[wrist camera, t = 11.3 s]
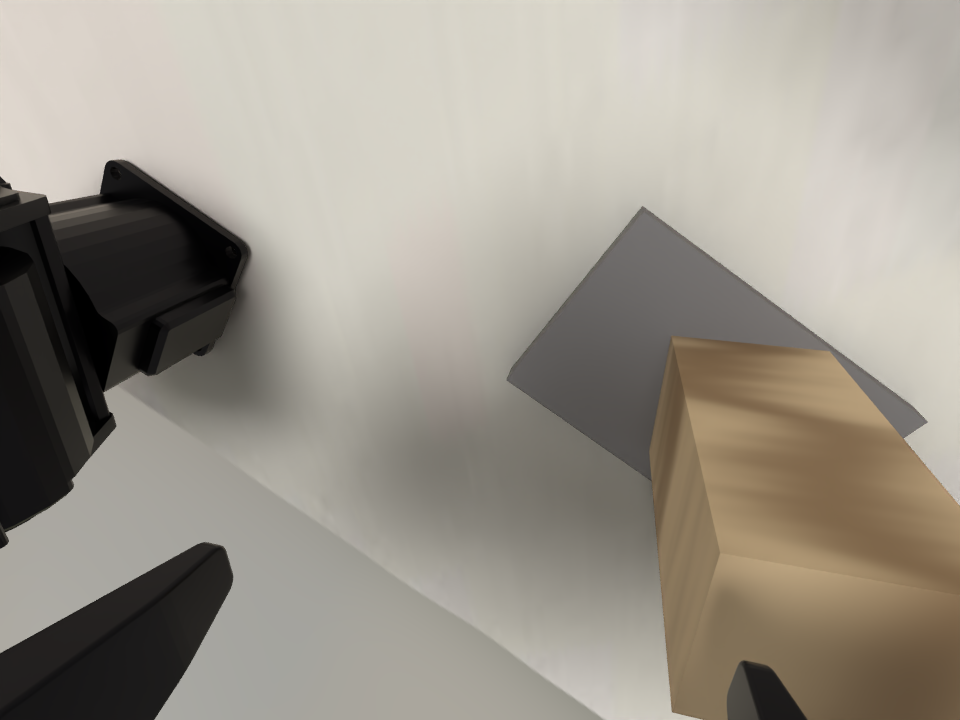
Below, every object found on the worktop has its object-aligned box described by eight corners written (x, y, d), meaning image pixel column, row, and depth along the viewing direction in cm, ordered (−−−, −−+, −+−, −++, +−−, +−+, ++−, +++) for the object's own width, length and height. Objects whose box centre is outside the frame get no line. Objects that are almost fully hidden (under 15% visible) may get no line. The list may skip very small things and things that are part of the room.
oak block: (649, 451, 20) (671, 712, 12) (671, 335, 18) (720, 552, 9) (787, 471, 19) (925, 773, 11) (829, 350, 17) (1047, 610, 8)
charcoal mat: (511, 368, 21) (506, 380, 20) (642, 206, 17) (643, 211, 17) (738, 527, 22) (743, 544, 21) (913, 406, 18) (927, 421, 17)
